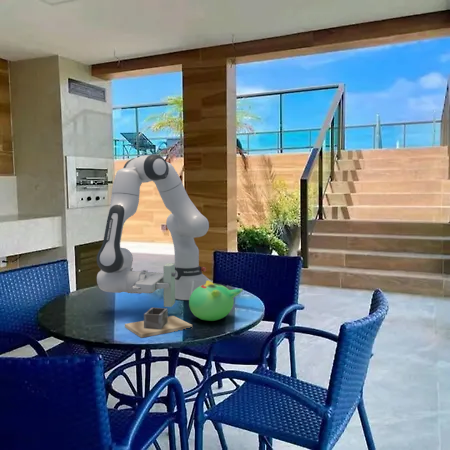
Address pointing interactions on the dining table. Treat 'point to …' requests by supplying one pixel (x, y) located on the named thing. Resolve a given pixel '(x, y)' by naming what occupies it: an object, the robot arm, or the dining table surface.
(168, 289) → the tall grey rectangular block
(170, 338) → the dining table surface
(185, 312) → the dining table surface
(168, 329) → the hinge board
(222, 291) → the toy bird
